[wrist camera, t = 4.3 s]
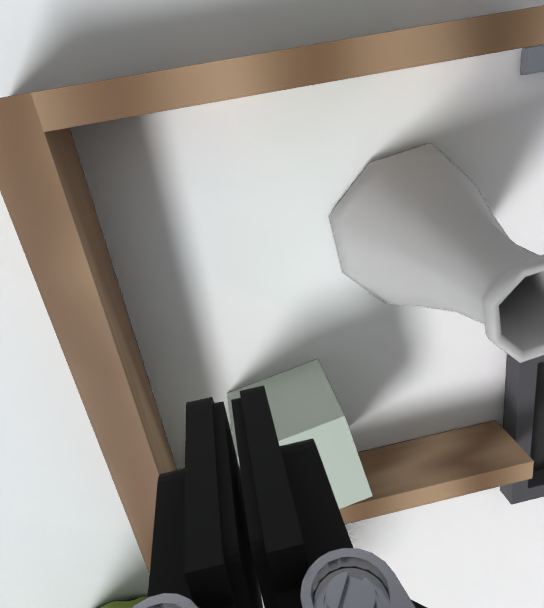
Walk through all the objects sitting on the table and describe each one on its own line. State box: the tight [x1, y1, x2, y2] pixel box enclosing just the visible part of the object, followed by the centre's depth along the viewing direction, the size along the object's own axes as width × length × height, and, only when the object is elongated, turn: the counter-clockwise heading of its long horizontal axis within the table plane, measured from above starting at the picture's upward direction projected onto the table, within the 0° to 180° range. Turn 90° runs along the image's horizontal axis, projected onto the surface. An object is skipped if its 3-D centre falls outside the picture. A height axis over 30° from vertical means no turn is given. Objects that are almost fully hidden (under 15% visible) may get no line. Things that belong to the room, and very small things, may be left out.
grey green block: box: [227, 359, 372, 509], centre depth 24 cm, size 5×5×5 cm
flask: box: [329, 143, 544, 363], centre depth 18 cm, size 7×7×10 cm
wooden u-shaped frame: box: [0, 5, 544, 572], centre depth 22 cm, size 20×22×4 cm
